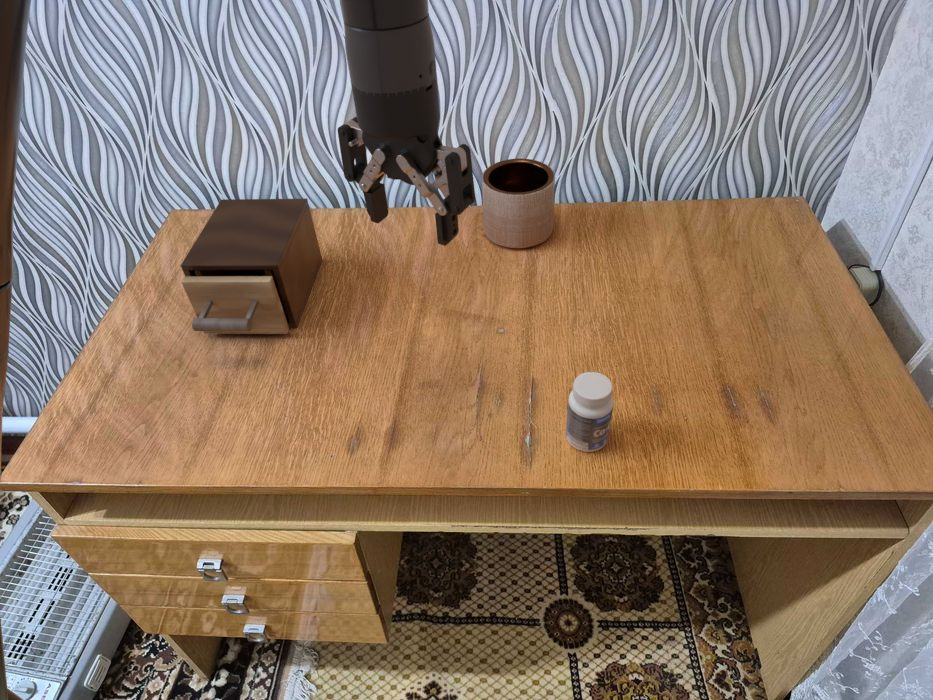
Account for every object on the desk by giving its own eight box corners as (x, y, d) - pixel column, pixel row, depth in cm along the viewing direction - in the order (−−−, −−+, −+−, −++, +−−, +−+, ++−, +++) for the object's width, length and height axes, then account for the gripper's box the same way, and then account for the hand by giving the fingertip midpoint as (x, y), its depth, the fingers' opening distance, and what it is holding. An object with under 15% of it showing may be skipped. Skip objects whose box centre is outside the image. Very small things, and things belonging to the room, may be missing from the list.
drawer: (276, 361, 84) (257, 308, 78) (190, 360, 85) (165, 308, 79) (312, 267, 98) (298, 216, 92) (237, 267, 99) (219, 217, 93)
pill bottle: (597, 459, 71) (604, 409, 66) (558, 442, 73) (561, 391, 68) (615, 429, 74) (623, 378, 68) (576, 413, 76) (581, 362, 70)
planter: (542, 256, 98) (544, 200, 92) (473, 244, 101) (470, 189, 95) (560, 217, 105) (563, 162, 99) (496, 207, 108) (494, 153, 102)
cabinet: (297, 328, 90) (277, 265, 82) (207, 327, 91) (180, 265, 83) (322, 259, 101) (307, 198, 93) (242, 259, 102) (221, 199, 94)
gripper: (302, 73, 58) (337, 230, 69) (436, 103, 52) (450, 269, 63) (356, 45, 62) (380, 196, 74) (485, 70, 57) (490, 230, 68)
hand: (412, 229), depth 68 cm, fingers open, 8 cm apart
